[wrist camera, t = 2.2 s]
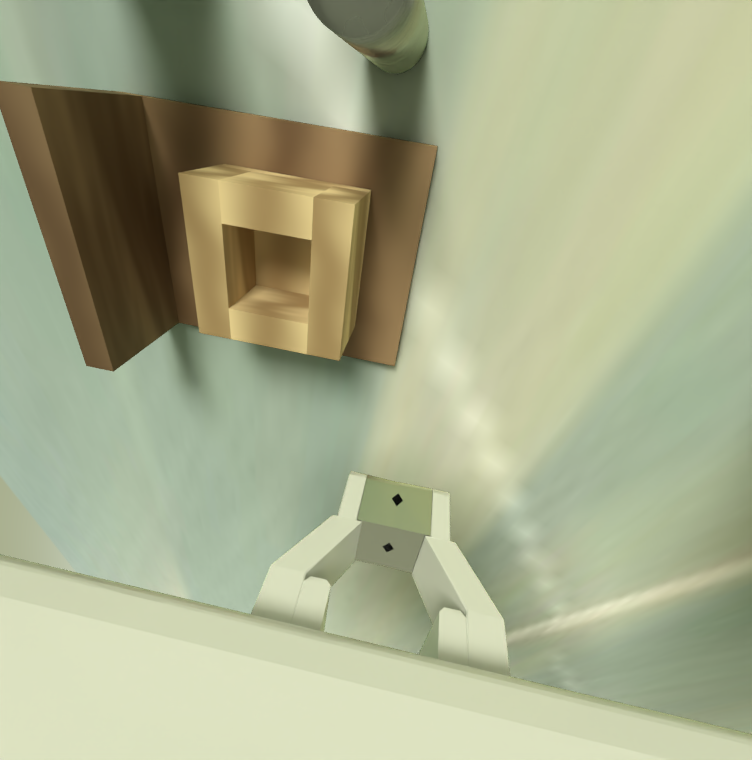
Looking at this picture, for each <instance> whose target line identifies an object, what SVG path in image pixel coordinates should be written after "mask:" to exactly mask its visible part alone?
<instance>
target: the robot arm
mask: <svg viewBox="0 0 752 760" xmlns="http://www.w3.org/2000/svg"><path fill="white" fill-rule="evenodd" d="M355 560H357V561H362V562H367V563H372V564H377V565H382V566H386V567H390V568H394V569H398V570H401V571H405V572H409V573H412V577H413V579H414V582H415V584H416V587H417V589H418V591H419V594H420V596H421V599H422V601H423V603H424V606H425V608H426V611H427V613H428V615H429V618H430V620H431V623H432V625H433V626H432V628H431V630H430V632H429V634H428V636H427V638H426V640H425V642H424V644H423V646H422V648H421V650H420V653H419V654H415V653H411V652H406V651H402V650H398V649H394V648H390V647H386V646H381V645H377V644H373V643H369V642H365V641H360V640H356V639H352V638H348V637H344V636H339V635H335V634H331V633H327V632H324V629H325V622H326V615H327V608H328V602H329V595H330V588H331V587H332V586H333V585H334V584H335V583H336V581H337V580H338V579H339V578H340V577H341V576H342V575H343V574H344V573H345V572H346V570H347V569H348V568H349V567H350V566H351V565H352V564H353V563H354V561H355ZM0 760H752V734H749V733H745V732H741V731H736V730H732V729H728V728H724V727H720V726H715V725H711V724H707V723H703V722H699V721H694V720H690V719H686V718H682V717H678V716H674V715H669V714H665V713H661V712H657V711H653V710H648V709H644V708H640V707H636V706H632V705H627V704H623V703H619V702H615V701H611V700H607V699H602V698H598V697H594V696H590V695H586V694H581V693H577V692H573V691H569V690H565V689H561V688H556V687H552V686H548V685H544V684H540V683H535V682H531V681H527V680H523V679H519V678H515V677H510V670H509V661H508V652H507V642H506V633H505V624H504V619H503V618H502V616H501V614H500V613H499V611H498V610H497V608H496V606H495V605H494V603H493V602H492V600H491V598H490V597H489V595H488V594H487V592H486V590H485V589H484V587H483V586H482V584H481V582H480V581H479V579H478V578H477V576H476V574H475V573H474V571H473V570H472V568H471V566H470V565H469V563H468V562H467V560H466V558H465V557H464V555H463V554H462V552H461V550H460V549H459V547H458V546H457V544H456V543H455V542H452V541H450V494H449V492H444V491H439V490H435V489H431V488H426V487H421V486H416V485H412V484H407V483H402V482H395V481H391V480H387V479H383V478H379V477H375V476H371V475H366V474H362V473H357V472H353V471H351V472H350V474H349V477H348V480H347V484H346V487H345V491H344V494H343V498H342V501H341V505H340V508H339V512H338V515H337V516H336V515H332V516H331V517H329V518H328V519H327V520H326V521H324V522H323V523H322V524H321V525H320V526H318V527H317V528H316V529H315V530H313V531H312V532H311V533H310V534H308V535H307V536H306V537H305V538H304V539H302V540H301V541H300V542H299V543H297V544H296V545H295V546H294V547H292V548H291V549H290V550H289V551H288V552H286V553H285V554H284V555H283V556H281V557H280V558H279V559H278V560H276V561H275V562H274V563H273V564H272V565H271V566H270V568H269V571H268V573H267V576H266V578H265V581H264V583H263V585H262V588H261V590H260V593H259V595H258V598H257V600H256V603H255V605H254V608H253V610H252V612H251V614H247V613H243V612H239V611H235V610H231V609H227V608H222V607H218V606H214V605H210V604H206V603H201V602H197V601H193V600H189V599H185V598H181V597H176V596H172V595H168V594H164V593H160V592H155V591H151V590H147V589H143V588H139V587H135V586H130V585H126V584H122V583H118V582H114V581H110V580H105V579H101V578H97V577H93V576H89V575H84V574H80V573H76V572H72V571H68V570H64V569H59V568H55V567H51V566H47V565H42V564H39V563H34V562H30V561H26V560H22V559H17V558H14V557H9V556H5V555H1V554H0Z"/></svg>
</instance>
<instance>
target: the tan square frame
mask: <svg viewBox="0 0 752 760" xmlns="http://www.w3.org/2000/svg"><path fill="white" fill-rule="evenodd" d="M178 175H179V183H180V190H181V198H182V206H183V213H184V221H185V228H186V236H187V243H188V251H189V258H190V266H191V273H192V281H193V288H194V296H195V303H196V311H197V318H198V326H199V333H204V334H209V335H214V336H219V337H224V338H229V339H234V340H239V341H244V342H249V343H253V344H258V345H263V346H268V347H273V348H278V349H283V350H288V351H293V352H298V353H303V354H308V355H313V356H318V357H323V358H328V359H333V360H338V361H339V360H340V358H341V356H342V354H343V352H344V349H345V347H346V345H347V343H348V341H349V338H350V336H351V334H352V332H353V330H354V327H355V323H356V314H357V306H358V298H359V289H360V281H361V272H362V264H363V256H364V247H365V239H366V231H367V222H368V214H369V206H370V197H371V190H369V189H363V188H357V187H352V186H346V185H341V184H335V183H329V182H324V181H318V180H313V179H307V178H301V177H296V176H290V175H285V174H279V173H273V172H268V171H262V170H257V169H251V168H245V167H240V166H234V165H228V164H222V165H216V166H211V167H206V168H201V169H195V170H190V171H185V172H180V173H178Z"/></svg>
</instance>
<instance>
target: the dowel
mask: <svg viewBox="0 0 752 760" xmlns="http://www.w3.org/2000/svg"><path fill="white" fill-rule="evenodd" d="M308 3H309V5H310V6H311V8H312V10H313V12H314V13H315V14H316V16H317V17H318V18H319V20H320V21H321V22H322V23H323V24H324V25H325V26H326V27H328V28H329V29H330V30H331V31H333V32H334V33H335V34H336V35H338V36H339V37H340V38H342V39H343V40H344V41H345V42H347V43H348V44H349V45H351V46H352V47H353V48H354V49H356V50H357V51H358V52H360V53H361V54H362V55H363V56H365V57H366V58H367V59H369V60H370V61H371V62H372V63H374V64H375V65H376V66H378V67H379V68H380V69H382V70H383V71H385V72H388V73H392V74H398V73H403V72H405V71H407V70H409V69H411V68H412V67H413V66H414V65H415V64H416V63H417V62H418V61H419V59H420V58H421V56H422V55H423V53H424V50H425V48H426V45H427V40H428V33H429V25H428V18H427V13H426V8H425V3H424V0H308Z"/></svg>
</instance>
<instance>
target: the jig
mask: <svg viewBox="0 0 752 760" xmlns="http://www.w3.org/2000/svg"><path fill="white" fill-rule="evenodd" d="M0 109H1V112H2V115H3V118H4V121H5V124H6V127H7V130H8V133H9V136H10V139H11V142H12V145H13V148H14V151H15V154H16V157H17V160H18V163H19V166H20V169H21V172H22V175H23V178H24V181H25V184H26V187H27V190H28V193H29V196H30V199H31V202H32V205H33V208H34V211H35V214H36V217H37V220H38V223H39V226H40V229H41V232H42V235H43V238H44V241H45V244H46V247H47V250H48V253H49V256H50V259H51V261H52V264H53V267H54V270H55V273H56V276H57V279H58V282H59V285H60V288H61V291H62V294H63V297H64V300H65V303H66V306H67V309H68V312H69V315H70V318H71V321H72V324H73V327H74V330H75V333H76V336H77V339H78V342H79V345H80V348H81V351H82V354H83V357H84V360H85V363H86V366H90V367H95V368H100V369H105V370H109V371H115V370H116V369H117V368H119V367H120V366H121V365H123V364H124V363H125V362H127V361H128V360H129V359H131V358H132V357H133V356H135V355H136V354H137V353H139V352H140V351H141V350H143V349H144V348H145V347H147V346H148V345H149V344H151V343H152V342H154V341H155V340H156V339H158V338H159V337H160V336H162V335H163V334H164V333H166V332H167V331H168V330H170V329H171V328H172V327H174V326H175V325H176V324H178V323H183V324H188V325H193V326H198V318H197V311H196V303H195V296H194V288H193V281H192V273H191V266H190V258H189V251H188V243H187V236H186V228H185V221H184V213H183V206H182V198H181V190H180V183H179V175H178V173H180V172H185V171H190V170H195V169H201V168H206V167H211V166H216V165H222V164H228V165H234V166H240V167H245V168H251V169H257V170H262V171H268V172H273V173H279V174H285V175H290V176H296V177H301V178H307V179H313V180H318V181H324V182H329V183H335V184H341V185H346V186H352V187H357V188H363V189H369V190H371V197H370V206H369V214H368V222H367V231H366V239H365V247H364V256H363V264H362V272H361V281H360V289H359V298H358V306H357V314H356V323H355V327H354V330H353V332H352V334H351V336H350V338H349V341H348V343H347V345H346V347H345V349H344V352H343V354H342V355H343V356H348V357H353V358H358V359H363V360H368V361H373V362H378V363H383V364H388V365H393V366H395V361H396V356H397V351H398V346H399V341H400V336H401V331H402V326H403V321H404V316H405V311H406V305H407V300H408V295H409V290H410V285H411V280H412V275H413V270H414V265H415V259H416V254H417V249H418V244H419V239H420V234H421V229H422V224H423V219H424V214H425V208H426V203H427V198H428V193H429V188H430V183H431V178H432V173H433V168H434V162H435V157H436V152H437V147H438V146H435V145H429V144H423V143H418V142H412V141H406V140H400V139H394V138H388V137H383V136H377V135H371V134H365V133H359V132H353V131H347V130H342V129H336V128H330V127H324V126H318V125H312V124H307V123H301V122H295V121H289V120H283V119H277V118H272V117H266V116H260V115H254V114H248V113H242V112H236V111H231V110H225V109H219V108H213V107H207V106H201V105H196V104H190V103H184V102H178V101H172V100H166V99H161V98H155V97H149V96H143V95H137V94H131V93H126V92H117V91H106V90H95V89H84V88H73V87H62V86H50V85H39V84H28V83H17V82H6V81H0ZM198 327H199V326H198Z"/></svg>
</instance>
